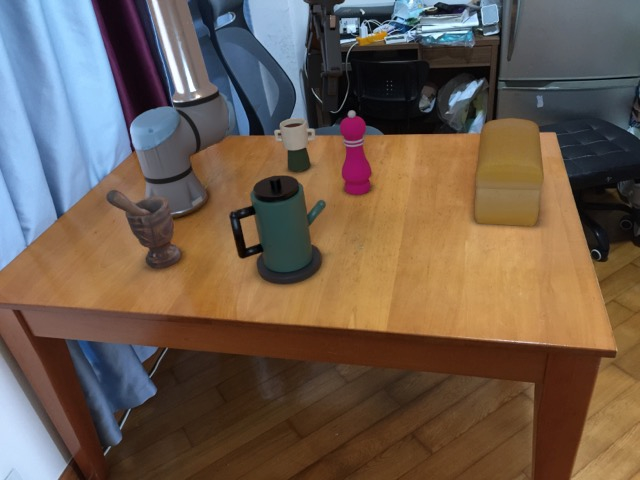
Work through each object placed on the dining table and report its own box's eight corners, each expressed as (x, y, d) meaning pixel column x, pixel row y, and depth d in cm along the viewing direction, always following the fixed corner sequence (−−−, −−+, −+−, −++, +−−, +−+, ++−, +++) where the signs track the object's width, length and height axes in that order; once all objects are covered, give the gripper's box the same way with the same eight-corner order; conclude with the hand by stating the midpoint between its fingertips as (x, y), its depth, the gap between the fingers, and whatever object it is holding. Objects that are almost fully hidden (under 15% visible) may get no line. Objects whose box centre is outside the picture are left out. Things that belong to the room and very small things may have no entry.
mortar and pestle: (169, 280, 110) (140, 193, 99) (130, 280, 112) (97, 194, 101) (189, 248, 120) (165, 165, 109) (152, 248, 121) (125, 167, 111)
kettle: (320, 232, 116) (310, 155, 106) (340, 254, 108) (331, 174, 98) (235, 260, 110) (216, 182, 101) (250, 286, 103) (231, 204, 93)
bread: (478, 171, 135) (481, 113, 126) (534, 173, 131) (541, 113, 123) (472, 223, 115) (475, 158, 107) (538, 227, 112) (546, 160, 103)
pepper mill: (376, 183, 135) (372, 105, 124) (366, 197, 130) (360, 117, 119) (349, 180, 138) (343, 104, 127) (338, 194, 133) (330, 115, 122)
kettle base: (271, 244, 117) (269, 238, 117) (328, 248, 114) (328, 242, 113) (247, 281, 107) (246, 275, 106) (310, 287, 103) (309, 281, 102)
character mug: (321, 162, 149) (316, 116, 142) (316, 174, 143) (311, 127, 136) (283, 163, 151) (276, 118, 144) (277, 174, 146) (269, 128, 139)
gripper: (290, -32, 103) (291, 80, 115) (318, -10, 83) (316, 123, 94) (328, -33, 105) (325, 78, 116) (366, -11, 84) (357, 120, 96)
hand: (321, 98), depth 105 cm, fingers open, 13 cm apart
